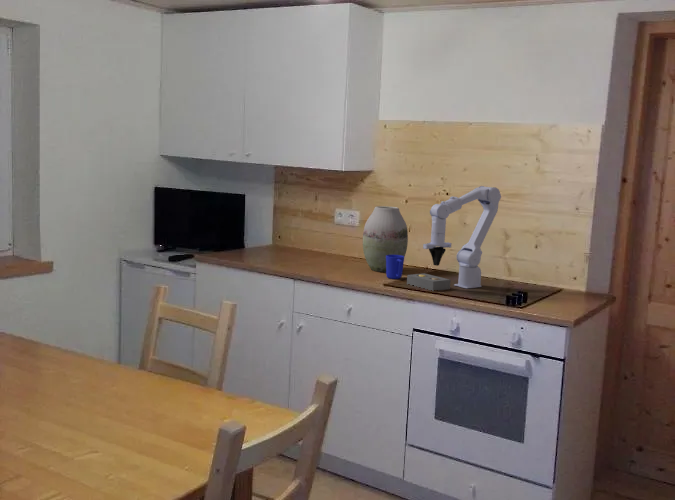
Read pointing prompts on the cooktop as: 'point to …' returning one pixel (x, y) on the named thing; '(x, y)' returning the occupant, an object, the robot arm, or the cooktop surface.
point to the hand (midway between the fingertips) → (436, 265)
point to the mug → (394, 266)
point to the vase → (384, 236)
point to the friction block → (428, 282)
